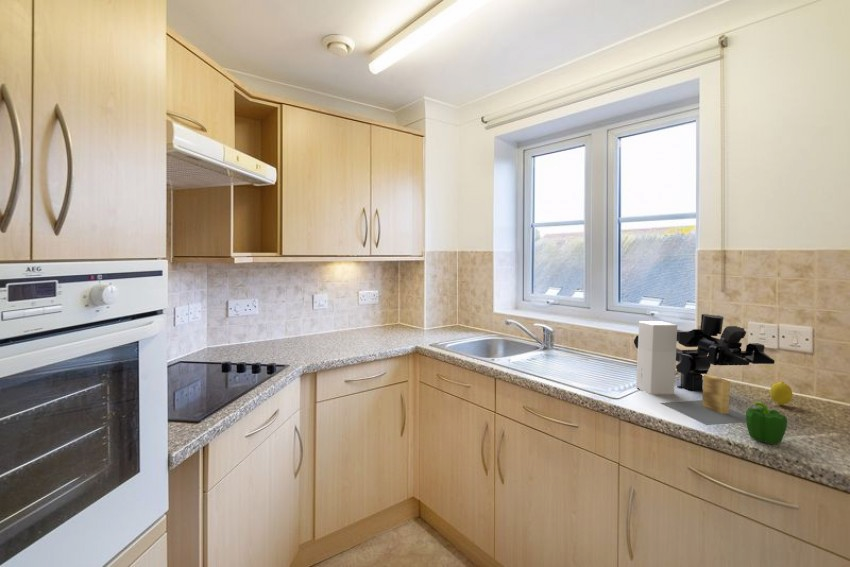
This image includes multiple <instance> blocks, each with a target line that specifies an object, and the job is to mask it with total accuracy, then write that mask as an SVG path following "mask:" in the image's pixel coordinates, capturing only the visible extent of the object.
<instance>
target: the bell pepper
mask: <svg viewBox="0 0 850 567" xmlns="http://www.w3.org/2000/svg"><path fill="white" fill-rule="evenodd" d="M753 404H754V406H755V408H753V407H752V408H751V407H749V408H748V407H747V410H746V411H745V415H746V422H745V423H746V427H747V431H748V435H749V436H750V438H752V439H753V440H754V441H758V442H764V443H767V444H770V445H778V444H780V443H781V442H782V440H783V439H784V436H785V433H786V430H787V426H788V420H787V417H786V416H785V415H784V414H782V413H780V412H779V411H778V410H777V409H769V408H768V406H767V405H766V404H765V403H763V402H759V401H755V402H753Z"/></svg>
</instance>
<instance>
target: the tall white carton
mask: <svg viewBox="0 0 850 567" xmlns="http://www.w3.org/2000/svg"><path fill="white" fill-rule="evenodd" d="M677 330H678V325H677V324H675V323H672V322H667V321H662V320H647V321H646V320H639V321H638V335H637V336H638V348H637V356H636V357H637V360H636V362H637V363H636V381H635V382H636V383H635V386H636V387H637V388H639V389H640V390H639V389H638V390H639V391H641V392H646V393H648V394H649V395H675V390H676V388H675V386H676V385H675V383H676V370H677V369H676V365H677V364H676V363H677V361H676V348H677V345H678V344H677V342H678V341H677ZM636 387H635V388H636ZM637 388H636V389H637Z"/></svg>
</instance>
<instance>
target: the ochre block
mask: <svg viewBox="0 0 850 567" xmlns="http://www.w3.org/2000/svg"><path fill="white" fill-rule="evenodd" d="M730 392H731V380H728V379H725V378H722V377H719V376H715V375H713V374H703V391H702V400H703V403H702V406H704V407H707V408H709V409H711V410H714V411H716V412H718V413H721V414H726V413H729V409H730V394H731V393H730Z"/></svg>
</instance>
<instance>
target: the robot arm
mask: <svg viewBox="0 0 850 567" xmlns="http://www.w3.org/2000/svg"><path fill="white" fill-rule="evenodd" d="M700 318H701V319H700V328H694V329H691V330H680V329H677V342H678V344H680V345H682V346H683V347H685V348H696V349H679V348H677V347H676V362H678V364H676V369H675V370H676V372H677V373H680V385H676V388H679V389H681V390H682V389H684V390H686V391H689V392H703V383H704V378H703V375H708V372H709V370H710V368H711V366H712V365H713V366H749V365H750V364H753V365H774V364H775V359H774V358H772V357H771V356H769V355H768V354H766V353H765V345H764V344H762V343H759V342H757V343H756V342H755V343H753V342H752V343H751V342H749V343H747V344H746V346H745V347H746V348H745V350H742V345H743V343H742V342H741V340H742V339H744V338H745V336H747V331H746V330H745V328H743V327H740V326H738V325H729V326H728V325H727V326H725V328H724V329H723V325H724V319H725V317H724V316H722V315H715V314H707V313H704V314H703V313H702V314H701V317H700ZM718 335H720V338H717V337H718ZM633 343H634V346H635V347H636V349H638V335H636V336H635V338H634V340H633Z"/></svg>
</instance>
